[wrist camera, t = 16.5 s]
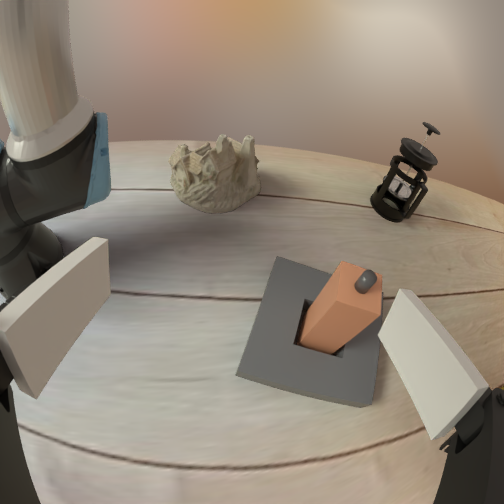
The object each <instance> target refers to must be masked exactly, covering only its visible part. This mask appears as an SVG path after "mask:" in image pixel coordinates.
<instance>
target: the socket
mask: <svg viewBox="0 0 504 504" xmlns="http://www.w3.org/2000/svg"><path fill="white" fill-rule="evenodd" d="M331 276H332V275H331V274H328V273H326V272H323V271H320V270H317V269H314V268H311V267H308V266H305V265H302V264H299V263H296V262H293V261H290V260H287V259H284V258H281V257H278V256H277V257H276V260H275V263H274V266H273V269H272V272H271V275H270V278H269V281H268V284H267V287H266V290H265V293H264V296H263V299H262V301H261V304H260V307H259V310H258V313H257V316H256V319H255V322H254V325H253V328H252V330H251V333H250V336H249V339H248V342H247V345H246V347H245V350H244V353H243V356H242V359H241V361H240V364H239V367H238V370H237V372H236V376H239V377H242V378H245V379H248V380H251V381H254V382H258V383H261V384H264V385H267V386H271V387H274V388H277V389H281V390H285V391H288V392H292V393H296V394H300V395H303V396H307V397H312V398H316V399H320V400H324V401H329V402H334V403H338V404H343V405H349V406H354V407H360V408H361V407H365V406H369V405H372V399H373V393H374V387H375V381H376V374H377V366H378V358H379V349H380V338H379V337H378V334H379V332H380V330H381V326H382V310H383V292H382V299H381V315H380V316H379V317H378V318H376V319H375V320H374V321H373V322H372V323H371V324H369V325H368V326H367V327H366V328H365V329H363V330H362V331H361V332H360V333H358V334H357V335H356V336H355V337H353V338H352V339H351V340H350V341H348V342H347V343H346V344H344V345H343V346H342V347H340V348H339V349H338V350H336V355H335V356H332V355H329V354H325V353H322V352H318V351H315V350H311V349H308V348H304V347H301V346H298V345H294V344H293V343H294V339H295V336H296V332H297V328H298V324H299V320H300V316H301V312H302V309H304V310H308V309H309V308H310V306H311V305H312V304H313V302H314V301H315V299H316V298H317V296H318V295H319V294H320V292H321V291H322V289H323V288H324V286H325V285H326V284H327V282H328V281H329V279H330V278H331Z"/></svg>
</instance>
